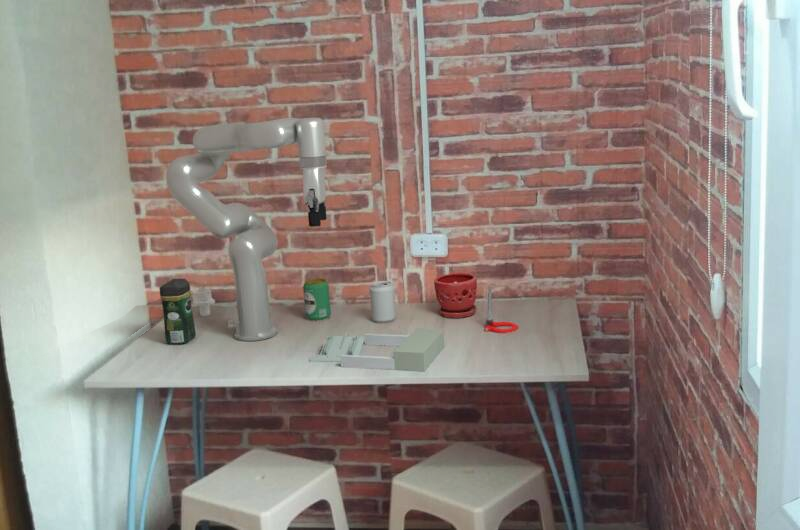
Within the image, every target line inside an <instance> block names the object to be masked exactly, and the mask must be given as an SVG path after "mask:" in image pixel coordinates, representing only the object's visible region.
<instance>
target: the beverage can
mask: <svg viewBox="0 0 800 530" xmlns="http://www.w3.org/2000/svg"><path fill="white" fill-rule="evenodd" d="M329 285H330V284H329V283H328V281H327V279H325V278H311V279H306V280H305V281H304V284H303V287H302V288H303V299H304V312H305V313H304V314H305V318H306V319H307V320H308V319H309V320H308V321H310V320H316V321H315V322H318V321H317V320H322V321H325V320H324V319H326V320H328V319H329V318H330V316H331V314H332V311H331V300H330V286H329ZM327 318H328V319H327Z"/></svg>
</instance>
